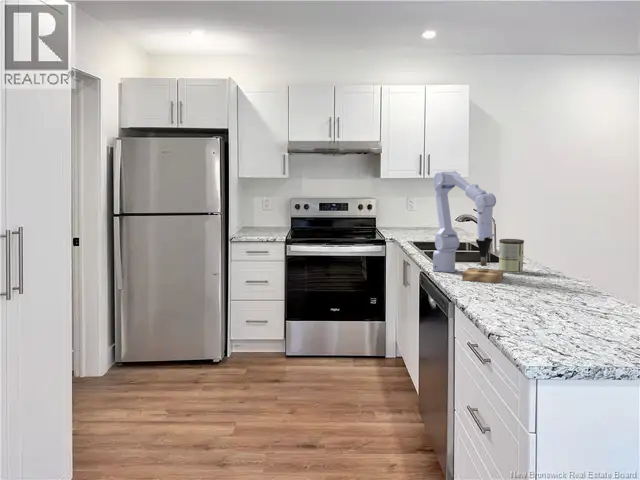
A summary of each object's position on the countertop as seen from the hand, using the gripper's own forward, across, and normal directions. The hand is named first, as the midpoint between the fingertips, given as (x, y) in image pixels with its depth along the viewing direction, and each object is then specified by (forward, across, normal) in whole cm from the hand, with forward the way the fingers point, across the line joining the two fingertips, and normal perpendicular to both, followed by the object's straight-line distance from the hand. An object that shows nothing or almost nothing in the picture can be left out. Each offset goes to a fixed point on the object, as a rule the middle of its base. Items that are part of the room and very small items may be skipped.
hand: (483, 256), depth 228 cm
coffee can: (+9, +23, -8) cm, 26 cm away
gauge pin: (+4, 0, 0) cm, 4 cm away
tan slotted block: (+9, 0, 0) cm, 9 cm away
